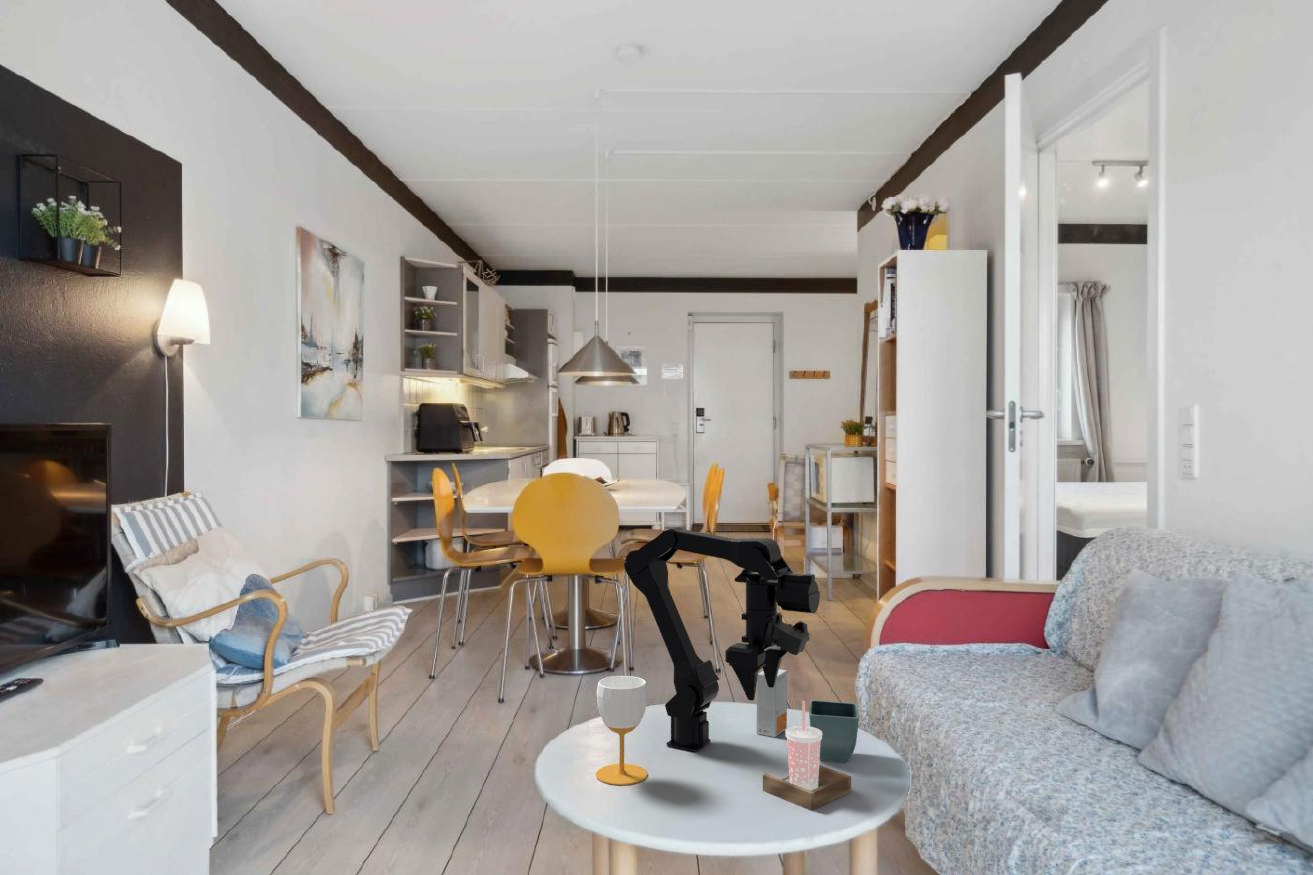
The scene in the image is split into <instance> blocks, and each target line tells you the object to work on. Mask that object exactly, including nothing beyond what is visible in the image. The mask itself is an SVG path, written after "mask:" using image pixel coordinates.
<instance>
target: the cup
mask: <svg viewBox="0 0 1313 875" xmlns="http://www.w3.org/2000/svg"><path fill="white" fill-rule="evenodd" d="M648 693H649V692H648V685H647V682H646V680H645V679H643V678H641V677H638V676H632V675H612V676H606V677H604V678H602V679H600V680H598V682H597V688H596V700H597V709H598V712H599V715H600V717H601V720H602V722H603V724H604V725H605V727H607V728H608V729H609V730H610V731H611V732H612V733H616V734H617V735H618V736H619V754H618V756H619V760H618V762H619V763H613V764H609V765H605V766H603V767H601V768H599V769H597V771H596V773H595V777H596V779H597V780H598V781H600V782H602V783H604V784H607V785H610V786H630V785H635V784H638V783H641V782H643V781H645V780H646V779H647V777H648V771H647V770H646V769H645V768H643V766H641V765H637V764H631V763H625V735H627V734H628V733H631V732H633V731H634V730H635V729H636V728H637V727H638V726H639V725H640V724H641V722H642V720H643V717H644V715H645V713H646V709H647V704H648V696H649V694H648Z"/></svg>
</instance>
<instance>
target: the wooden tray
mask: <svg viewBox="0 0 1313 875" xmlns="http://www.w3.org/2000/svg"><path fill="white" fill-rule="evenodd" d="M762 791H763V792H765V793H767V794H770V795H773V796H775V797H776V798H777V797H778V798H780V799H782V800H784V801H787V802H789V803H791V804H792V803H793V804H795V805H797V806H798V807H799V806H800V807H803V808H804V809H807V810H809V811H814V810H815V809H818V808H819V807H821V806H824V805H826V804H828V803H831V802H833V801H835V800H838V799H839V798H841V797H844V796H846V795H847V794H850V793H851V792H852V776H851V775H849V774H846V773H844V772H840V771H838V770H835V769H833V768H829V767H827V766H824V765H820V764H819V777H818V788H816V789H813V790H811V791H810V790H807V789H804V788H802V787H799V786H797V785H794V784H792V783H790V777H789V775H788V776H786V777H784V778H779V777H776V776H773V775H771V774H768V773H764V774H762Z"/></svg>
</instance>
